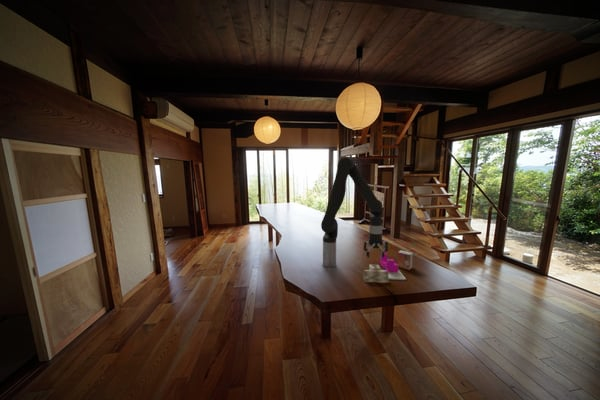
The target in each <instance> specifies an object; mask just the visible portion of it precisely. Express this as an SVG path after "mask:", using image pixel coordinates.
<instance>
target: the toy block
mask: <svg viewBox="0 0 600 400" xmlns="http://www.w3.org/2000/svg"><path fill="white" fill-rule="evenodd" d="M379 261H380V265H381V266H382V268H384V270H387V271H388V272H398V270H399V267H398V265H397V263H396V262H395V260H394V259H393V258H388V254H387V253H386V252H385V254H384V257H383V258H382V257H381V255H380V260H379Z"/></svg>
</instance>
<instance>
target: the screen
mask: <svg viewBox="0 0 600 400" xmlns="http://www.w3.org/2000/svg"><path fill="white" fill-rule="evenodd" d="M388 273H389V272H388V271H379V270H369V269H364V270H363V282H364V283H380V284H381V283H382V284H384V283H385V284H390V279H388Z"/></svg>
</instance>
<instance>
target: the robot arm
mask: <svg viewBox="0 0 600 400" xmlns="http://www.w3.org/2000/svg"><path fill="white" fill-rule="evenodd" d="M348 176H349V177H350V178H351V180H352V182H353V183H354V185H355V188H356V190H357V191H358V193H359V195H361V197H362V198H363V199H364V201H365V203H366V206H368V208H369V210H370V217H369V227H368V236H369V237H368V240H367V241H366V240H363V248H362V249H363V251H364V252H366V253H365V254H366V255H365V256H366V257H367V258H368V259H369V258H370V251H371V250H372V249H380V250H381V252H380V256H381V257H382V258H383V257H384V254H385V253H386V252H388V251H389V246H388V241H387V240H383V217H382V215H383V202H382V201H381V200H380V199H378V198H377V196H376V195H375V193H374V191H373V190H372V188H371V187H370V185H369V183H367V181H366V180H365V178H364V177H363V176H362V173H360V171H359V169H358V166H357V165H356V162H355V161H354V159H353V158H352V157H348V156H343V157H341V158H340V159H339V160H338V162H337V166H336V173H335V177H334V178H335V179H334V181H333V185H332V188H331V190H330V195H329V198H328V202H327V205H326V210H325V213H324V215H323V217H322V219H321V220H322V221H321V224H320V227H321V230H322V231H323V232H324V235H323V237H322V266H323V267H326V268H335V267H336V266H337V238H338V232H339V231H338V228H339V225H338V224H339V223H338V221H337V220H336V216H337V213H338V212H339V210H340V209H341V207H342V205H343V202H344V199H345V196H346V190H347V179H348ZM368 244H369V245H368ZM367 245H368V246H367ZM382 245H384V248H383V247H382Z"/></svg>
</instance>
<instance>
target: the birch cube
mask: <svg viewBox="0 0 600 400" xmlns="http://www.w3.org/2000/svg"><path fill="white" fill-rule="evenodd" d="M368 270H379V271H380V270H381V267H380V265H379V264H369V265H368Z"/></svg>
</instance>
